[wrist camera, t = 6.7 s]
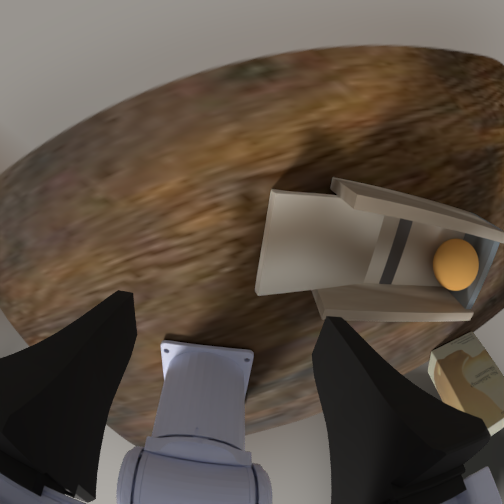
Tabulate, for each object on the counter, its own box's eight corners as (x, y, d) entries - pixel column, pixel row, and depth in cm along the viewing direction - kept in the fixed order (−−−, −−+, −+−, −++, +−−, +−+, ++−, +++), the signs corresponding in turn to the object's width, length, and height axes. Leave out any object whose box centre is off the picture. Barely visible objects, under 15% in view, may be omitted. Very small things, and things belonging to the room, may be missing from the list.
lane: (444, 292, 22) (469, 320, 18) (251, 275, 21) (253, 314, 17) (473, 213, 19) (507, 233, 15) (268, 166, 17) (275, 180, 13)
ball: (419, 271, 21) (454, 278, 20) (436, 297, 17) (473, 303, 17) (435, 226, 19) (470, 236, 19) (457, 246, 16) (494, 257, 15)
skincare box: (472, 329, 25) (525, 403, 14) (466, 352, 27) (510, 423, 16) (428, 351, 26) (476, 437, 15) (424, 373, 27) (464, 453, 16)
